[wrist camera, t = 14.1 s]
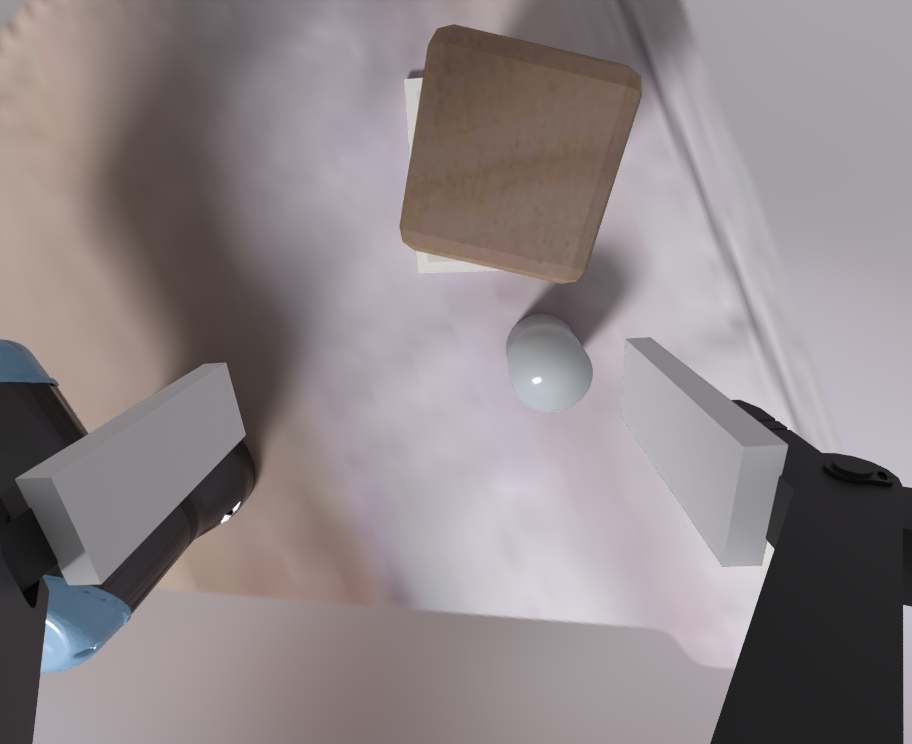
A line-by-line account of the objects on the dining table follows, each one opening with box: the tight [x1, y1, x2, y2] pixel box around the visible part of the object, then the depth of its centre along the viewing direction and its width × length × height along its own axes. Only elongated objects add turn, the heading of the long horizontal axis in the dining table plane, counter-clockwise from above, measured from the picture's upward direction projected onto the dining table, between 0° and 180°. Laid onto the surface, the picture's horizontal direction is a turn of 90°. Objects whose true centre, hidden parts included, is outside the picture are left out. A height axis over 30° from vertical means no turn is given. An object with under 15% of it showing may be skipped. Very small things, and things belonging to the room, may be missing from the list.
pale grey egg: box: [506, 314, 593, 412], centre depth 42 cm, size 7×7×8 cm
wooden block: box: [400, 24, 642, 284], centre depth 30 cm, size 10×10×20 cm
